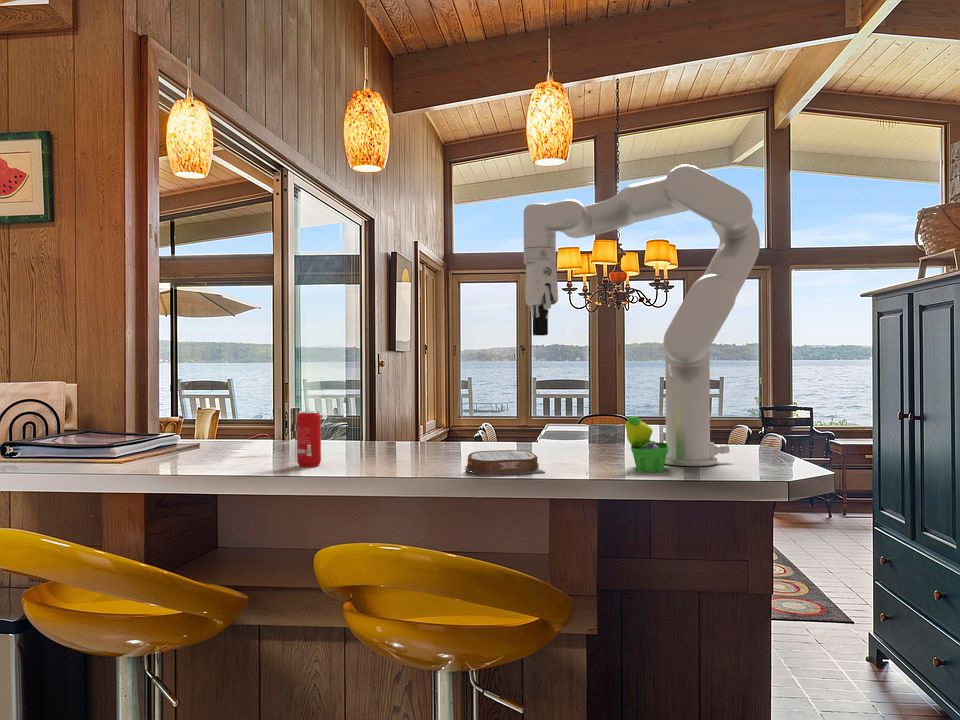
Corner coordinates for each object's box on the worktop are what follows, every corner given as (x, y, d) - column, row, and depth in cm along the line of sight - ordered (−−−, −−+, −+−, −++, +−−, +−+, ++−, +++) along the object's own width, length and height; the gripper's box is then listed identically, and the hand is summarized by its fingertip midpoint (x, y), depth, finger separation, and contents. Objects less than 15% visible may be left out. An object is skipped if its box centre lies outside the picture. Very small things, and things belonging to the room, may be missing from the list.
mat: (537, 468, 166) (537, 462, 166) (549, 472, 159) (549, 466, 159) (465, 471, 161) (465, 466, 161) (474, 476, 154) (474, 470, 154)
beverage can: (293, 465, 172) (293, 412, 172) (315, 463, 175) (314, 411, 175) (303, 468, 168) (302, 413, 168) (325, 466, 171) (324, 412, 171)
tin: (462, 463, 163) (473, 477, 155) (463, 448, 162) (473, 462, 154) (529, 460, 167) (543, 474, 159) (530, 446, 166) (544, 459, 158)
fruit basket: (669, 473, 157) (669, 418, 157) (625, 472, 159) (624, 417, 159) (667, 466, 168) (666, 414, 168) (625, 465, 170) (625, 413, 170)
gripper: (567, 253, 175) (567, 334, 175) (543, 261, 190) (543, 336, 190) (536, 252, 173) (536, 334, 173) (514, 260, 187) (514, 336, 187)
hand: (540, 335), depth 181 cm, fingers closed
